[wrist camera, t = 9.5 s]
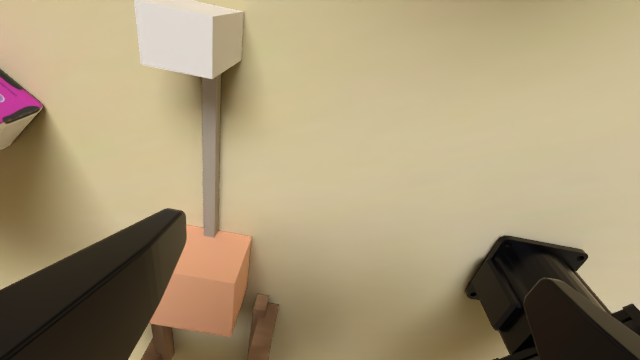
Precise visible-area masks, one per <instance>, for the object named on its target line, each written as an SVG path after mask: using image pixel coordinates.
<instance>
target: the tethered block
mask: <svg viewBox="0 0 640 360" xmlns="http://www.w3.org/2000/svg"><path fill="white" fill-rule="evenodd" d="M134 5H135V14H136V23H137V32H138V41H139V50H140V59H141V65H145V66H150V67H155V68H160V69H165V70H170V71H175V72H179V73H184V74H189V75H194V76H199V77H202V146H203V223H204V228H201V227H195V226H190V225H186V231H187V239H186V244H185V247H184V249H183V251H182V254H181V256H180V258H179V261H178V263H177V265H176V267H175V270H174V272H173V274H172V277H171V279H170V281H169V284H168V286H167V288H166V290H165V293H164V295H163V297H162V299H161V301H160V304H159V306H158V307H157V309H156V311H155V313H154V315H153V317H152V318H151V320H150V324H155V325H161V326H167V327H173V328H180V329H186V330H192V331H198V332H204V333H210V334H216V335H222V336H228V337H231V336H232V332H233V329H234V326H235V323H236V320H237V317H238V314H239V311H240V307H241V304H242V301H243V298H244V295H245V292H246V289H247V280H248V270H249V260H250V249H251V239H252V237H250V236H245V235H239V234H234V233H228V232H223V231H218V209H219V158H220V108H221V73H223V72H224V71H226V70H227V69H229V68H230V67H232V66H233V65H235V64H236V63H238V62H239V61H241V58H242V39H243V19H244V11H239V10H234V9H230V8H225V7H221V6H216V5H212V4H207V3H202V2H198V1H193V0H134Z"/></svg>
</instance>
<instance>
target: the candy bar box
mask: <svg viewBox="0 0 640 360" xmlns="http://www.w3.org/2000/svg"><path fill="white" fill-rule="evenodd" d="M42 108H43V105H42V104H41V103H40V102H39V101H38V100H37V99H36V98H34V97H33V96H32V95H31V94H30V93H28V92H27V91H26V90H25V89H24V88H22V87H21V86H20V85H19V84H17V83H16V82H15V81H14V80H13V79H11V78H10V77H9V76H8V75H7V74H5V73H4V72H3V71H2V70H0V151H1V150H3V149H4V148H6V147H8V146H10V145H12V143H13V142H14V141H15V140H16V139H17V138H18V137H19V136H20V134H21V133H22V131H23V130H24V128H25V127H26V126H27V125H28V124H29V123H30V122H31V121H32V120H33V118H34V117H35V116H36V115H37V114H38V113H39V112H40V111H41V109H42Z"/></svg>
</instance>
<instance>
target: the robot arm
mask: <svg viewBox="0 0 640 360" xmlns="http://www.w3.org/2000/svg"><path fill="white" fill-rule="evenodd" d="M186 239H187V231H186V215H185V213H184V212H183V211H181V210H175V209H170V208H167V209H164V210H162V211H160V212H158V213H155V214H153V215H151V216H149V217H147V218H145V219H143V220H141V221H139V222H137V223H135V224H133V225H131V226H129V227H127V228H125V229H123V230H121V231H119V232H117V233H115V234H113V235H111V236H109V237H107V238H105V239H103V240H101V241H99V242H97V243H95V244H93V245H91V246H89V247H87V248H84V249H82V250H80V251H78V252H76V253H74V254H72V255H70V256H68V257H66V258H64V259H62V260H60V261H58V262H56V263H54V264H52V265H50V266H48V267H46V268H44V269H42V270H40V271H38V272H36V273H34V274H32V275H30V276H28V277H26V278H24V279H22V280H20V281H18V282H16V283H14V284H11V285H9V286H7V287H5V288H3V289H1V290H0V360H128V358H129V357H130V355H131V353H132V351H133V350H134V348H135V346H136V344H137V343H138V341H139V339H140V337H141V336H142V334H143V332H144V330H145V329H146V327H147V325H148V323H149V322H150V320H151V318H152V317H153V315H154V313H155V311H156V309H157V307H158V306H159V304H160V301H161V299H162V297H163V295H164V293H165V290H166V288H167V286H168V284H169V281H170V279H171V277H172V274H173V272H174V270H175V267H176V265H177V263H178V261H179V258H180V256H181V254H182V251H183V249H184V247H185V244H186ZM507 242H508V243H507ZM505 243H506V244H505ZM587 258H588V255H587V254H586V253H585V252H584V251H583V250H581V249H576V248H571V247H565V246H560V245H555V244H550V243H544V242H539V241H534V240H528V239H523V238H518V237H513V236H503V237H501V238H500V239H499V240H498V242H497V243H496V245H495V246H494V248H493V249H492V251H491V252H490V254H489V255H488V257H487V258H486V260H485V261H484V263H483V264H482V266H481V267H480V269H479V270H478V272H477V273H476V275H475V276H474V278H473V279H472V281H471V282H470V284H469V285H468V287H467V288H466V290H465V292H466V294H467V297H469V298H472V299H477V300H480V301H481V303H482V306H483V308H484V310H485V312H486V314H487V316H488V319H489V321H490V323H491V325H492V327H493V328H494V330H496V331H499V333H500V335H501V337H502V339H503V341H504V343H505V345H506V347H507V350H508V352H509V354H510V355H508V356H505V357H503V358H500V359H498V358H496V359H493V360H640V311H639V310H638V309H637V308H636V307H635V306H634V305H633V304H630V305H627V306H625V307H622V308H623V310H620V311H618V312H615V313H613V314H612V313H611V312H610V311H609V310H608V308H607V307H606V306H605V305H604V304H603V303H602V301H601V300H600V299H599V298H598V297H597V296H596V294H595V293H594V292H593V291H592V290H591V289H590V287H589V286H588V285H587V284H586V283H585V282H584V280H583V279H582V278H581V277H580V276H579V275H578V273H577V272H576V271H577V270H578V269H579V268H580V267H581V265H582V264H583V263H584V262H585V261H586V260H587Z"/></svg>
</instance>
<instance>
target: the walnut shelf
mask: <svg viewBox="0 0 640 360" xmlns="http://www.w3.org/2000/svg"><path fill="white" fill-rule="evenodd" d="M268 298H269V296H268V295H262V294H257V298H256V301H255V305H254V309H253V317H252V325H251V334H250V342H249V350H248V358H247V360H268V359H269V352H270V347H271V341H272V336H273V331H274V326H275V321H276V316H277V311H278V306H279V305H278V304H272V303H268ZM151 327H152V333H153V339H152V340H151V342H150V344H149V346H148V348H147V350H146V351H145V353H144V355H143V357H142V359H141V360H172V357H173V355H174V344H173V335H172V327H167V326H161V325H155V324H151Z"/></svg>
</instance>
